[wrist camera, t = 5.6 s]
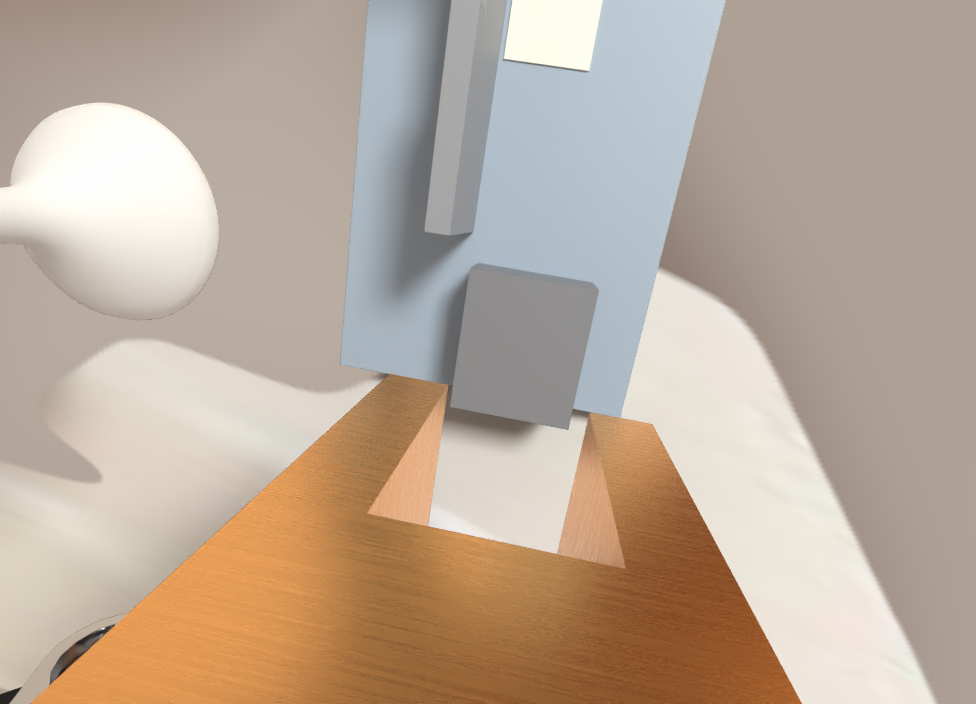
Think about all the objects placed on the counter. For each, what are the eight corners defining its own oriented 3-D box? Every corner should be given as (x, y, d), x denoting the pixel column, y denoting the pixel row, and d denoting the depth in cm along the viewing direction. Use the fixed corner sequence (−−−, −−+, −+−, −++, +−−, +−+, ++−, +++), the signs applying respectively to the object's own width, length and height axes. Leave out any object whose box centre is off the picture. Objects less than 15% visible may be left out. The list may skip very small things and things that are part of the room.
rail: (763, -179, 20) (964, -547, 11) (617, 409, 28) (655, 511, 18) (395, -219, 22) (269, -584, 12) (348, 358, 29) (247, 429, 19)
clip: (652, 424, 9) (928, 937, 3) (586, 669, 11) (649, 1390, 4) (390, 373, 10) (29, 703, 3) (362, 617, 11) (87, 1196, 5)
